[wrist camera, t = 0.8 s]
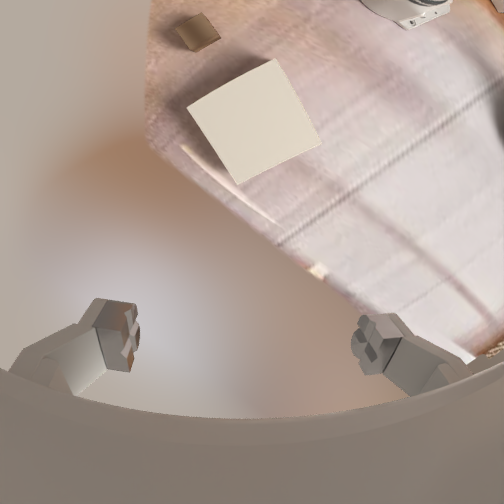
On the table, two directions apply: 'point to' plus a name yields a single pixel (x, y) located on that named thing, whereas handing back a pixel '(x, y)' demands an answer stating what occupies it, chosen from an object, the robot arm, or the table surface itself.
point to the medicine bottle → (499, 5)
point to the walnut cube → (197, 33)
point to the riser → (255, 122)
